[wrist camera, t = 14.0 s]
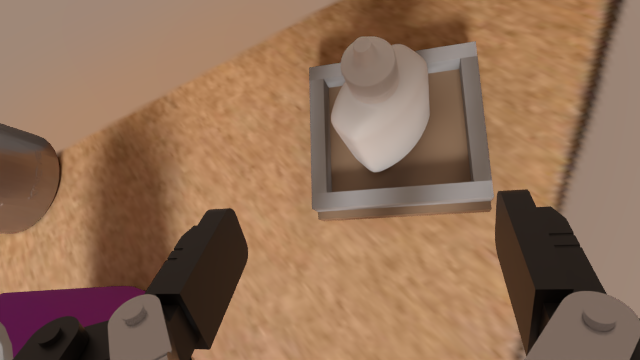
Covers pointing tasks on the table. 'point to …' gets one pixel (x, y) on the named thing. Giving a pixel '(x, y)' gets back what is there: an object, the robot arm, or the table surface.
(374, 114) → the eye dropper bottle
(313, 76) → the grey square tray
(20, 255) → the table surface
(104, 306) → the beverage can
